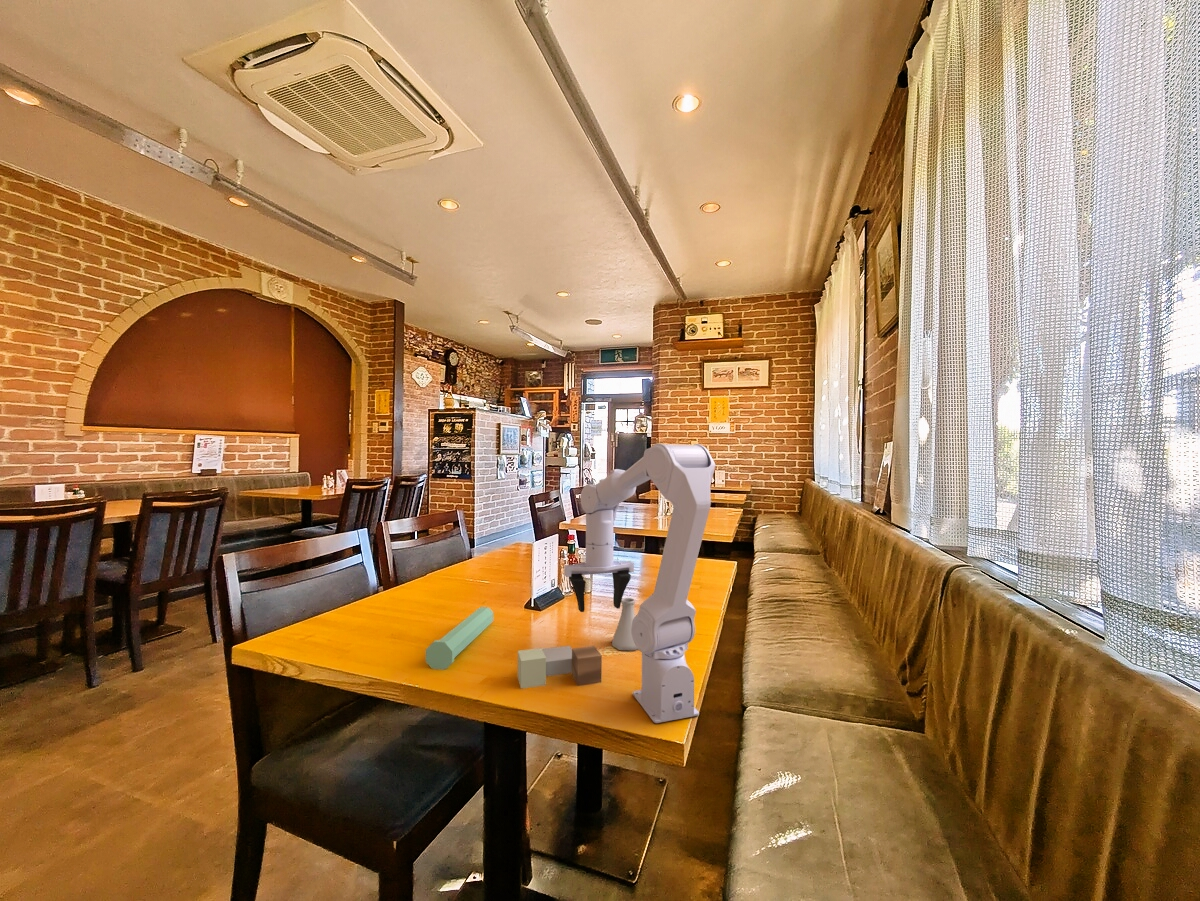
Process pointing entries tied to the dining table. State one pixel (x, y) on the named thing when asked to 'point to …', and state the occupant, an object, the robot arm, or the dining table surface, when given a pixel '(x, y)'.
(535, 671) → the sage block
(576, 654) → the walnut block
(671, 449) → the robot arm
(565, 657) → the stone slab
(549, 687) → the dining table surface
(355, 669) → the dining table surface
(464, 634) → the green octagonal rod
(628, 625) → the flask
